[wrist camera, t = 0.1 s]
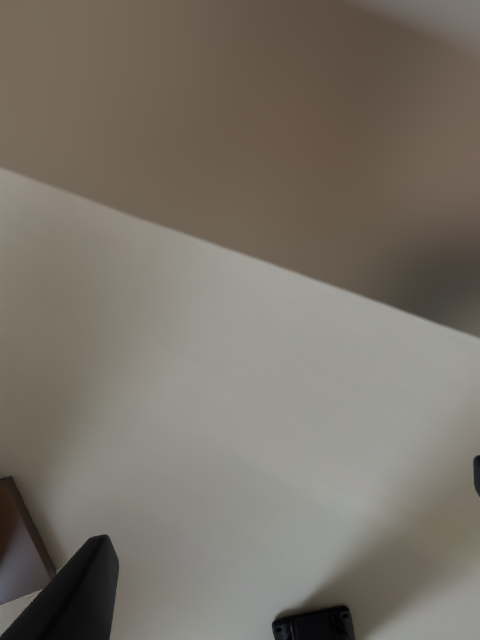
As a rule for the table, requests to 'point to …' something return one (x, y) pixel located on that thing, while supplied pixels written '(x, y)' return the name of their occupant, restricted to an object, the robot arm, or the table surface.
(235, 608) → the table surface
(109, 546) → the robot arm
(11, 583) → the ramp
